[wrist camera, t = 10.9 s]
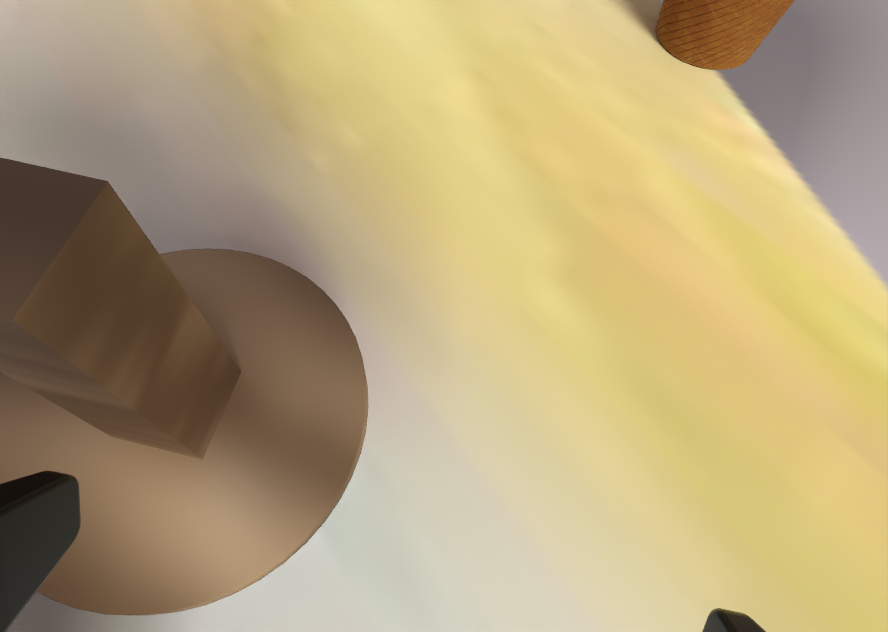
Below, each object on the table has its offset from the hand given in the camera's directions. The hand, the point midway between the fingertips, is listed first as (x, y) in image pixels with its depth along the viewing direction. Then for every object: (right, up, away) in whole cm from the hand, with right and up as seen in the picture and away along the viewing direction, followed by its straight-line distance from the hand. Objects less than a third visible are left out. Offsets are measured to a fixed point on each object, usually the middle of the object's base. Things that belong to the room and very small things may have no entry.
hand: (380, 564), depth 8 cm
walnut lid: (-8, 0, +11) cm, 13 cm away
